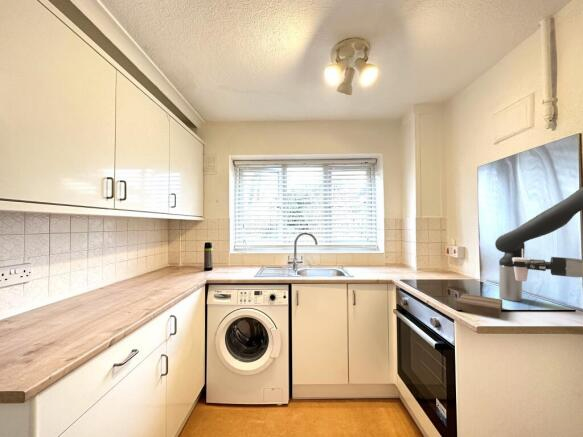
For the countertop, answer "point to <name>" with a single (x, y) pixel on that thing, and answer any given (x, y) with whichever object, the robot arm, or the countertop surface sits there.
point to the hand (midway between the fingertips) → (514, 262)
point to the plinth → (479, 305)
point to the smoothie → (521, 268)
